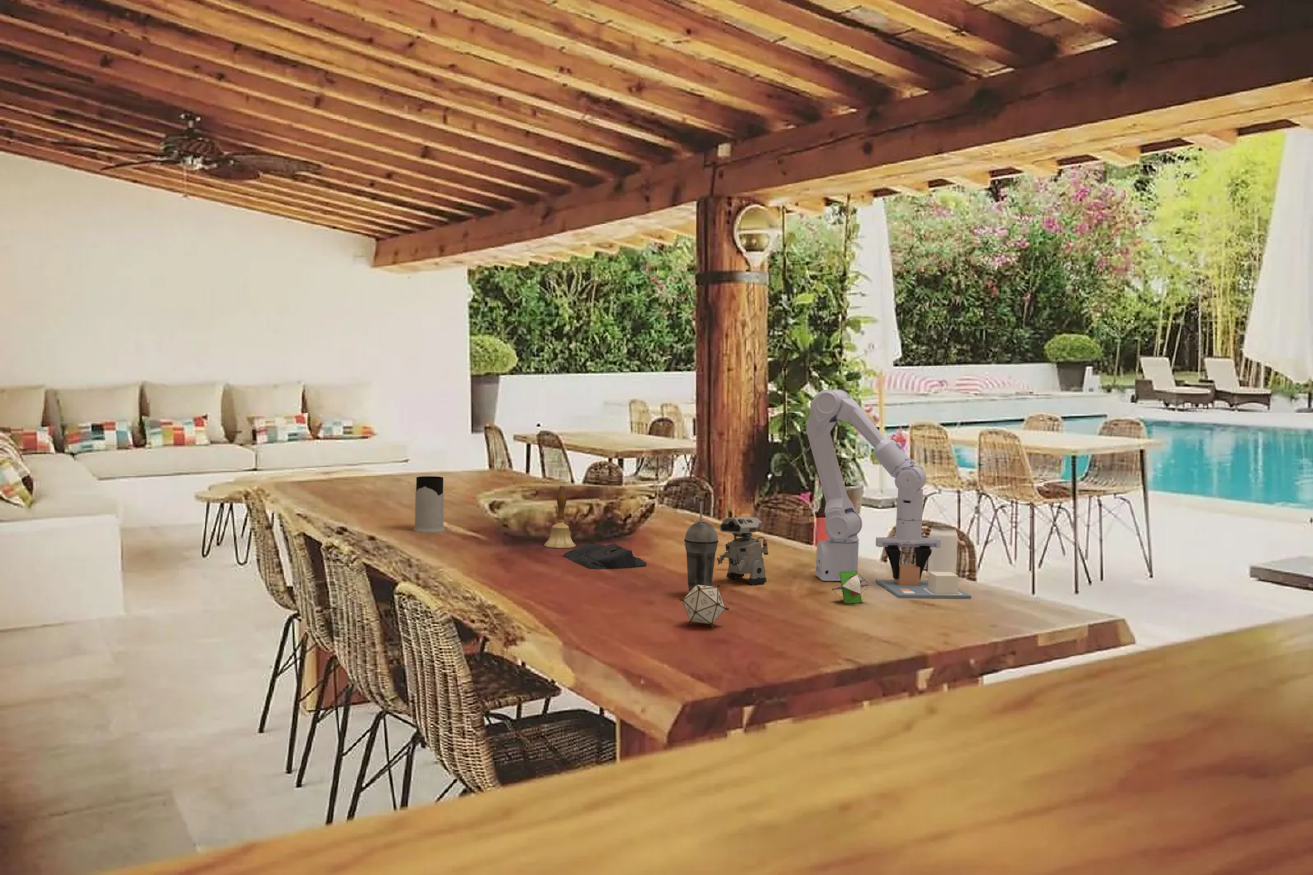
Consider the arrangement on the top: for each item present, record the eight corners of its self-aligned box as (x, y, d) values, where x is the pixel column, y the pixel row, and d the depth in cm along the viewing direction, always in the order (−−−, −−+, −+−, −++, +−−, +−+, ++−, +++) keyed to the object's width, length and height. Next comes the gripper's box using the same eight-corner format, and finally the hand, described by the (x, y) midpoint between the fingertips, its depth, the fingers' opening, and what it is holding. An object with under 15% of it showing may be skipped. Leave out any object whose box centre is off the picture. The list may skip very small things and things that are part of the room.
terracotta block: (899, 584, 264) (900, 567, 264) (894, 581, 269) (894, 563, 268) (919, 585, 265) (920, 567, 264) (913, 581, 269) (913, 564, 269)
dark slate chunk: (613, 554, 302) (614, 536, 301) (650, 569, 282) (651, 549, 281) (558, 557, 295) (558, 538, 295) (591, 572, 275) (592, 552, 275)
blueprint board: (898, 597, 252) (899, 594, 252) (875, 582, 270) (875, 579, 270) (971, 598, 254) (971, 595, 254) (943, 582, 272) (943, 579, 271)
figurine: (707, 581, 265) (708, 515, 264) (745, 576, 272) (747, 512, 271) (732, 588, 258) (734, 520, 257) (772, 583, 265) (774, 517, 264)
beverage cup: (720, 593, 251) (723, 500, 250) (711, 599, 245) (714, 504, 243) (688, 590, 254) (691, 498, 253) (678, 596, 247) (680, 501, 246)
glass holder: (408, 531, 328) (409, 478, 327) (426, 525, 342) (427, 473, 341) (438, 533, 327) (439, 479, 326) (455, 526, 341) (456, 475, 340)
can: (956, 580, 275) (958, 530, 274) (928, 579, 276) (930, 528, 275) (955, 576, 281) (957, 526, 280) (927, 574, 282) (929, 524, 282)
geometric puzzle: (823, 588, 249) (836, 562, 245) (850, 586, 252) (864, 560, 247) (836, 613, 244) (850, 587, 240) (864, 611, 247) (878, 586, 242)
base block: (935, 594, 254) (936, 575, 254) (927, 589, 259) (928, 571, 259) (957, 594, 255) (958, 576, 255) (949, 589, 260) (950, 571, 260)
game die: (693, 643, 221) (675, 595, 226) (735, 627, 222) (717, 580, 226) (689, 629, 213) (671, 580, 218) (733, 613, 214) (714, 564, 218)
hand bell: (558, 542, 316) (559, 483, 315) (582, 546, 311) (583, 486, 310) (537, 546, 309) (539, 485, 308) (561, 549, 304) (563, 488, 303)
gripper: (882, 521, 261) (880, 581, 262) (946, 522, 262) (943, 582, 263) (874, 516, 268) (871, 575, 269) (935, 518, 269) (933, 576, 270)
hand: (906, 578), depth 267 cm, fingers closed on terracotta block, 4 cm apart
